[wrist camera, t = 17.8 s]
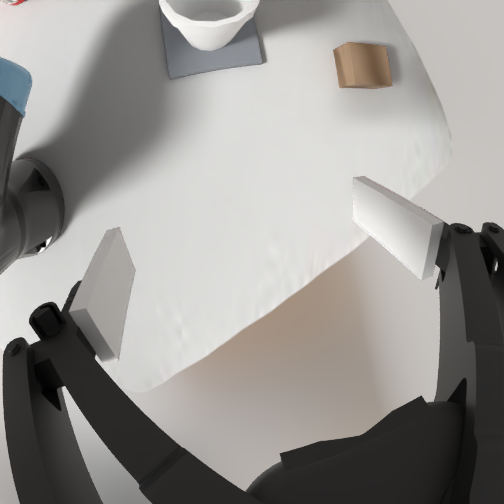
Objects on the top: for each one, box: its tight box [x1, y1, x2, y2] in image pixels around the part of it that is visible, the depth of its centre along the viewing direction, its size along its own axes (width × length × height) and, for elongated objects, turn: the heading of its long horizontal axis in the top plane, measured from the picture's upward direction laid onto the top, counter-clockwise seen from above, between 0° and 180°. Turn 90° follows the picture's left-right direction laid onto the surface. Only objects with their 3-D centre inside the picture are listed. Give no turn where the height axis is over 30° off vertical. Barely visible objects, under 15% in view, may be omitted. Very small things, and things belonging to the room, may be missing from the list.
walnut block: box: [333, 42, 392, 89], centre depth 31 cm, size 6×6×5 cm
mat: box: [159, 5, 262, 80], centre depth 29 cm, size 12×12×1 cm
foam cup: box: [159, 0, 260, 51], centre depth 23 cm, size 10×9×13 cm
